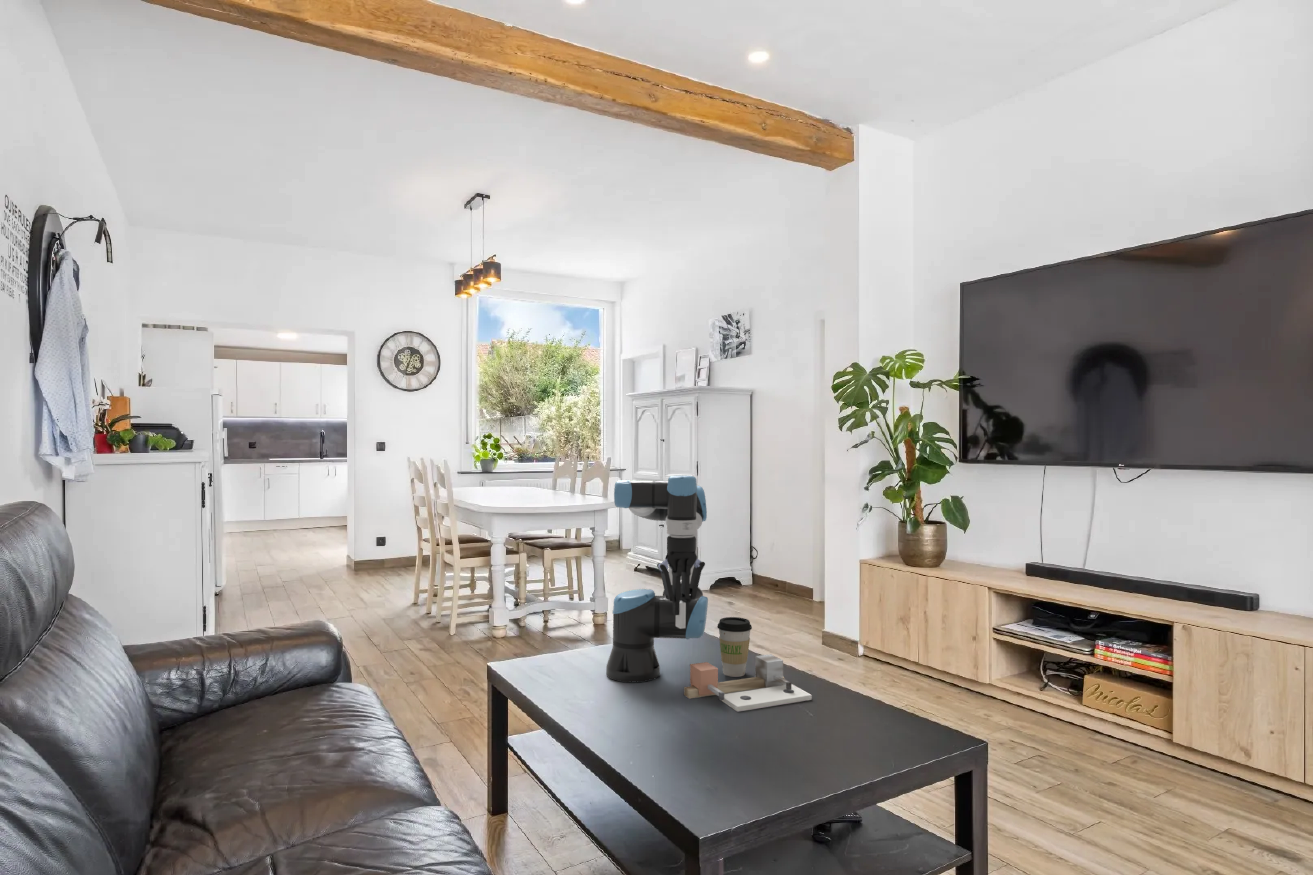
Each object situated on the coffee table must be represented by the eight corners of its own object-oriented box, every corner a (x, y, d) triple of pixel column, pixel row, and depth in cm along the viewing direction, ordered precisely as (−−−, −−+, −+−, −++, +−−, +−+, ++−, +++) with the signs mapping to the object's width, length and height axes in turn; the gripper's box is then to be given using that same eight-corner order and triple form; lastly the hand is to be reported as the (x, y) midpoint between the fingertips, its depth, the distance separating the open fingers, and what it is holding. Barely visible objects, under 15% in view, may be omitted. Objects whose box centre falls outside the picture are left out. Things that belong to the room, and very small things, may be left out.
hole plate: (719, 699, 192) (719, 694, 192) (791, 688, 201) (791, 683, 201) (737, 711, 184) (737, 706, 184) (811, 699, 193) (811, 694, 193)
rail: (681, 692, 196) (681, 665, 196) (775, 679, 208) (775, 653, 208) (704, 710, 184) (705, 681, 184) (802, 694, 196) (803, 667, 196)
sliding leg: (690, 688, 197) (690, 664, 197) (706, 686, 199) (707, 661, 199) (713, 705, 185) (714, 679, 185) (731, 702, 187) (731, 676, 187)
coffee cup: (710, 670, 215) (711, 618, 215) (739, 666, 220) (740, 615, 219) (727, 680, 207) (728, 626, 206) (758, 676, 211) (758, 623, 211)
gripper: (664, 538, 186) (663, 633, 186) (710, 536, 192) (709, 628, 192) (652, 534, 193) (651, 625, 193) (697, 532, 199) (696, 621, 199)
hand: (680, 626), depth 193 cm, fingers closed
